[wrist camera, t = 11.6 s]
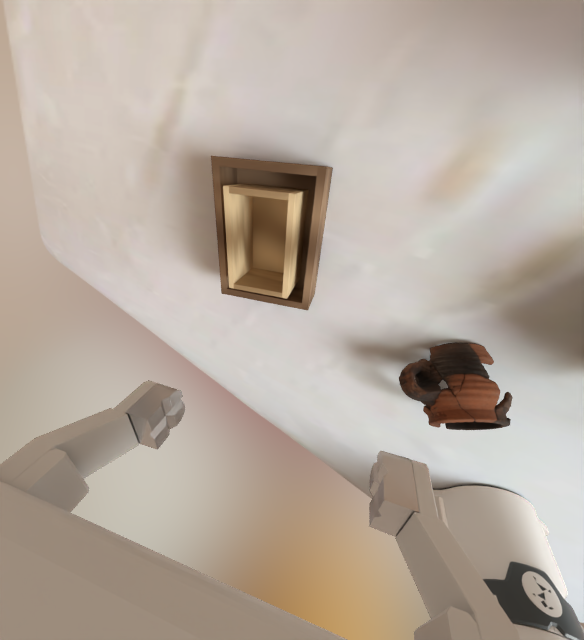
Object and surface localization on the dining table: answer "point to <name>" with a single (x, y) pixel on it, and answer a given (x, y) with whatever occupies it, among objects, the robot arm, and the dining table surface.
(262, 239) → the small crate
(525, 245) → the dining table surface
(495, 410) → the pottery mug
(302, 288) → the big crate
